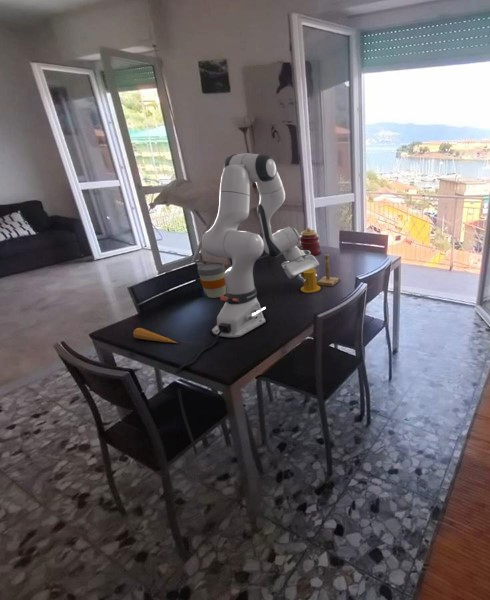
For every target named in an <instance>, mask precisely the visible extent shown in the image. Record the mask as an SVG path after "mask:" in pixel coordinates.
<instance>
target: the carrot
mask: <svg viewBox="0 0 490 600" xmlns="http://www.w3.org/2000/svg"><path fill="white" fill-rule="evenodd" d="M132 334H133V338H135V339H139V340H144V341H145V340H146V341H152V342H160V343H169V344H178V341H175V340H173V339H170V338H169V337H166V336H163V335H160V334H158V333H155V332H153V331H150V330H148V329H145V328H143V327H136V328H135V329H134V330H133V332H132Z"/></svg>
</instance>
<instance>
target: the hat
mask: <svg viewBox="0 0 490 600" xmlns="http://www.w3.org/2000/svg"><path fill="white" fill-rule="evenodd" d="M315 270H316V269H315ZM315 270H314V269H309V270H306V271H304V272H303V274H302V277H303V278H305V279H306V280H307V281H306V282H305V283H303V286H302V287H300V288H299V289H300V291H301V292H303V293H306V294H312V293H316V292H319V291H321V289H322V287H321V285H317V282H318V281H317V277H316V274H317V270H316V271H315Z"/></svg>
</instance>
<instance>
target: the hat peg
mask: <svg viewBox="0 0 490 600" xmlns="http://www.w3.org/2000/svg"><path fill="white" fill-rule="evenodd" d="M324 265H325V276H324V275H323V276H322V277H321V278H320V279H319V280H318V281H317V285H319V286H324V287H325V286H326V287H334V286H335V285H336V284H337V283H339V281H340V277H334V276H331V272H330V258H329V254H327V253H326V254H324Z"/></svg>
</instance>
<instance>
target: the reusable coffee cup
mask: <svg viewBox="0 0 490 600" xmlns="http://www.w3.org/2000/svg"><path fill="white" fill-rule="evenodd" d="M225 272H226V268H225V264H224V263H223V262H218V261H217V262H216V261H214V262H206V263H203V264H200V265H199V266H197V275H198V276H199V281H200V283H201V286H202V288H203V289H204V291H205V294H206V296H207V298H210V299H216V298H221V296H226V291H227V288H226V283H225V278H224V274H225Z"/></svg>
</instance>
